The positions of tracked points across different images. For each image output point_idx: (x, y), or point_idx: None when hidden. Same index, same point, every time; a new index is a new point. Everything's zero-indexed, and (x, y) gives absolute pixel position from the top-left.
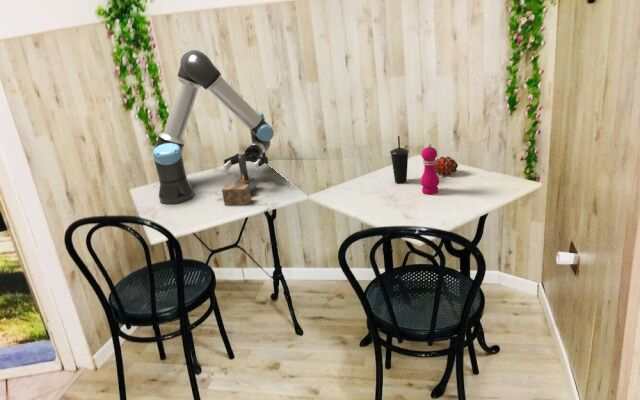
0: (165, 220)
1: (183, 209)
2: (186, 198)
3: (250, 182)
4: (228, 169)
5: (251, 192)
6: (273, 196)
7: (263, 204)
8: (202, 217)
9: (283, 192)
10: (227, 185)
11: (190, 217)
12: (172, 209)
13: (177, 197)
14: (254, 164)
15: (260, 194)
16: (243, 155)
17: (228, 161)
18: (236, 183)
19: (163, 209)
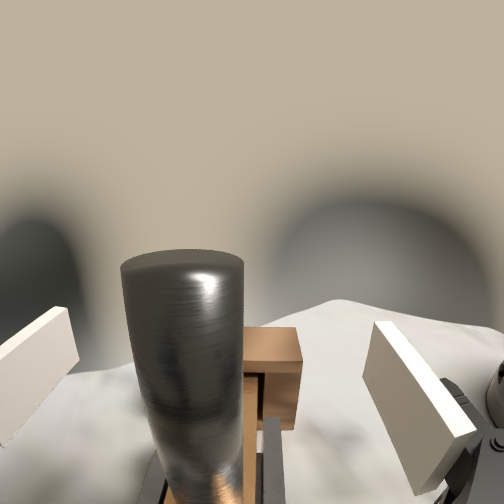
0: (416, 322)
1: (431, 361)
2: (490, 395)
3: (156, 454)
4: (378, 410)
5: None
6: (63, 424)
7: (117, 377)
8: (322, 334)
9: (14, 440)
10: (289, 357)
11: (361, 333)
12: (463, 357)
13: (500, 364)
14: (65, 310)
15: (119, 467)
16: (140, 258)
17: (450, 402)
18: (273, 456)
19: (486, 353)
